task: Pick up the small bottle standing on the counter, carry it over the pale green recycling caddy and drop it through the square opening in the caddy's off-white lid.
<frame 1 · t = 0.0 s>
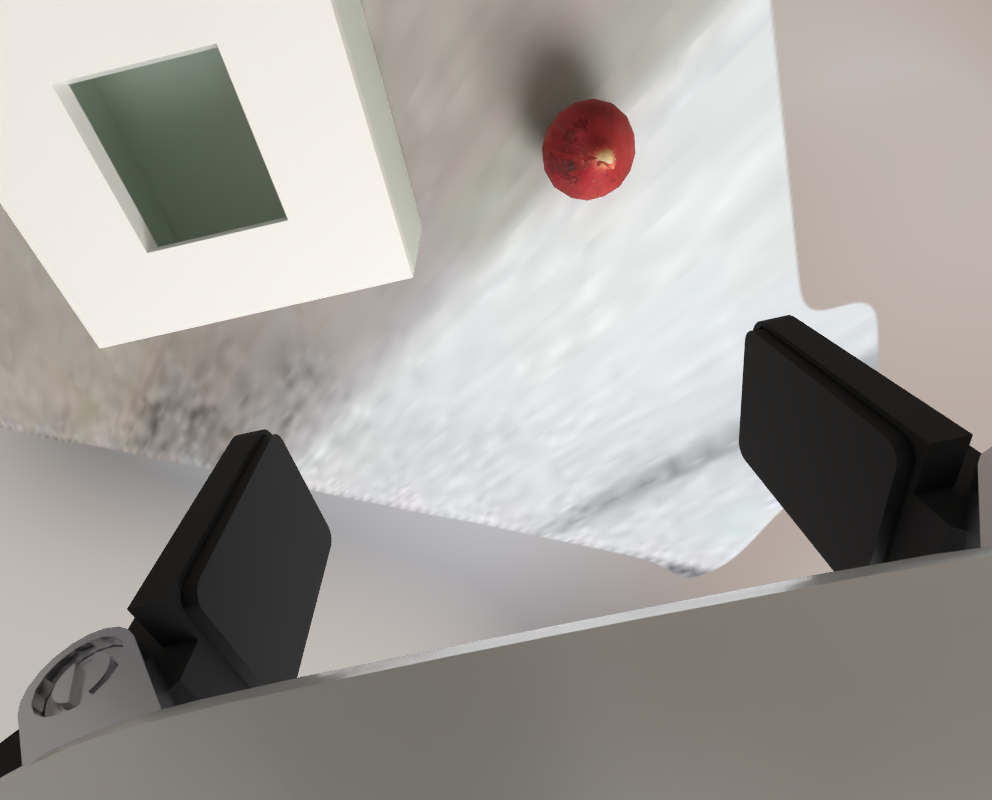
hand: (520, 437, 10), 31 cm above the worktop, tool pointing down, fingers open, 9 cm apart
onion: (575, 145, 36), on the worktop
caddy: (259, 137, 34), on the worktop
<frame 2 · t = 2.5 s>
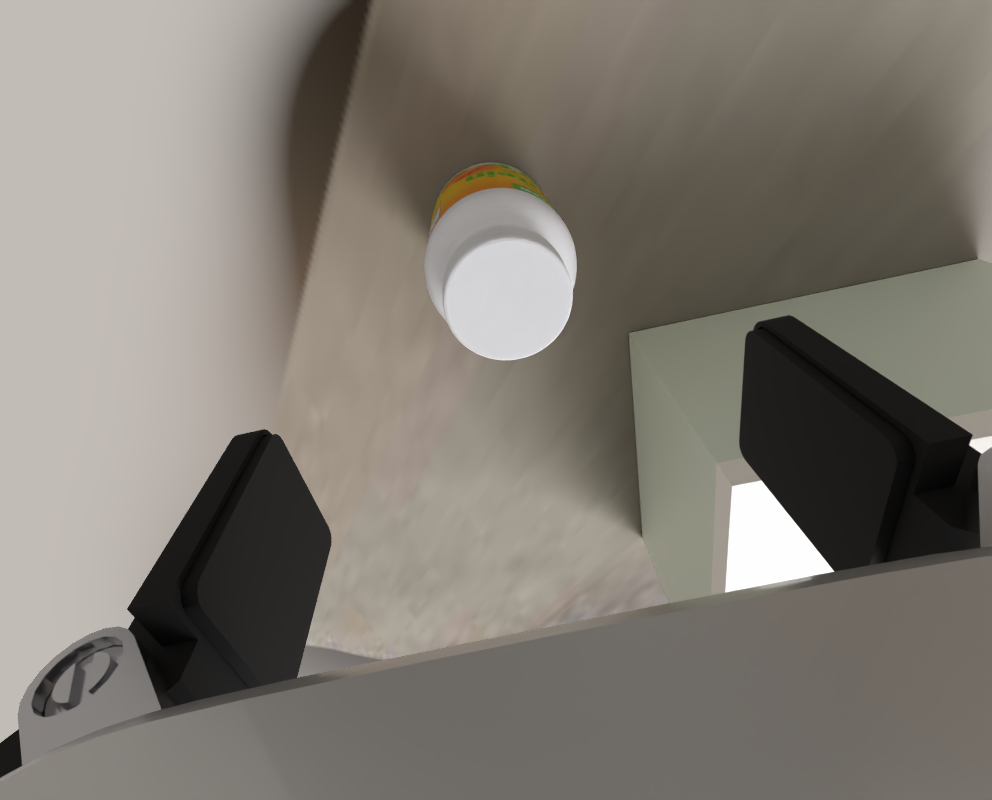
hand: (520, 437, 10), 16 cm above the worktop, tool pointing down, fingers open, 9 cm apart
caddy: (784, 420, 31), on the worktop
supplement bottle: (490, 223, 24), on the worktop
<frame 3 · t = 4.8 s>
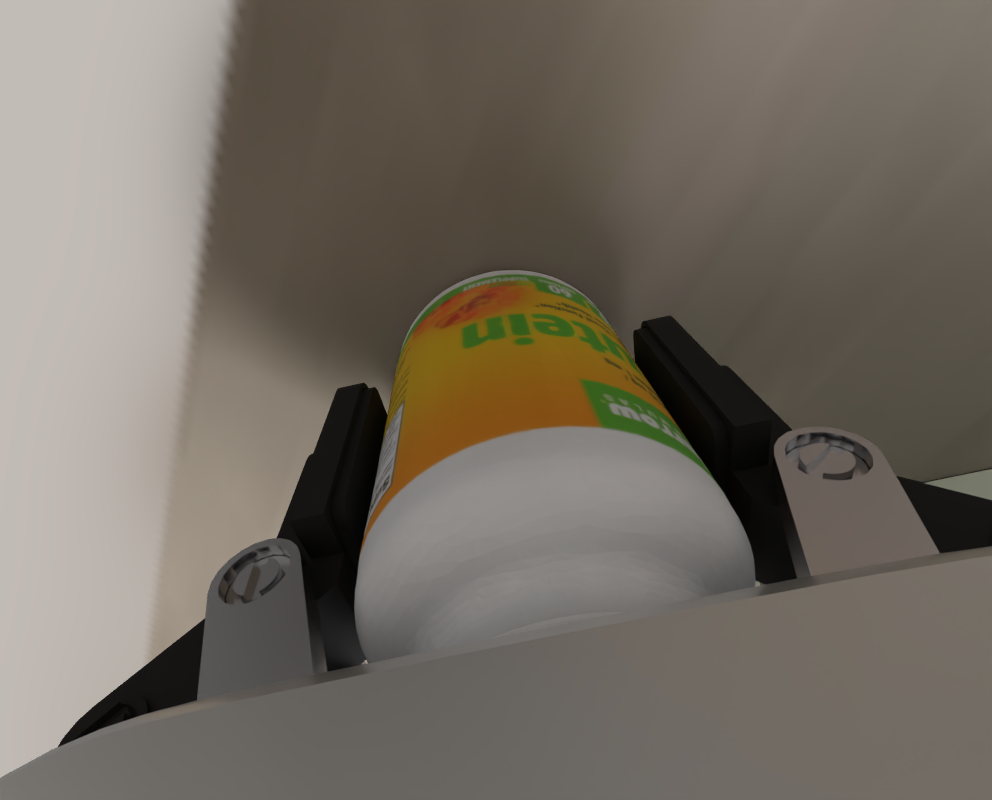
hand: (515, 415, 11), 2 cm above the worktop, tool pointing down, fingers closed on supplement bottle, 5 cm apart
caddy: (954, 619, 20), on the worktop
supplement bottle: (506, 367, 13), on the worktop, touching gripper
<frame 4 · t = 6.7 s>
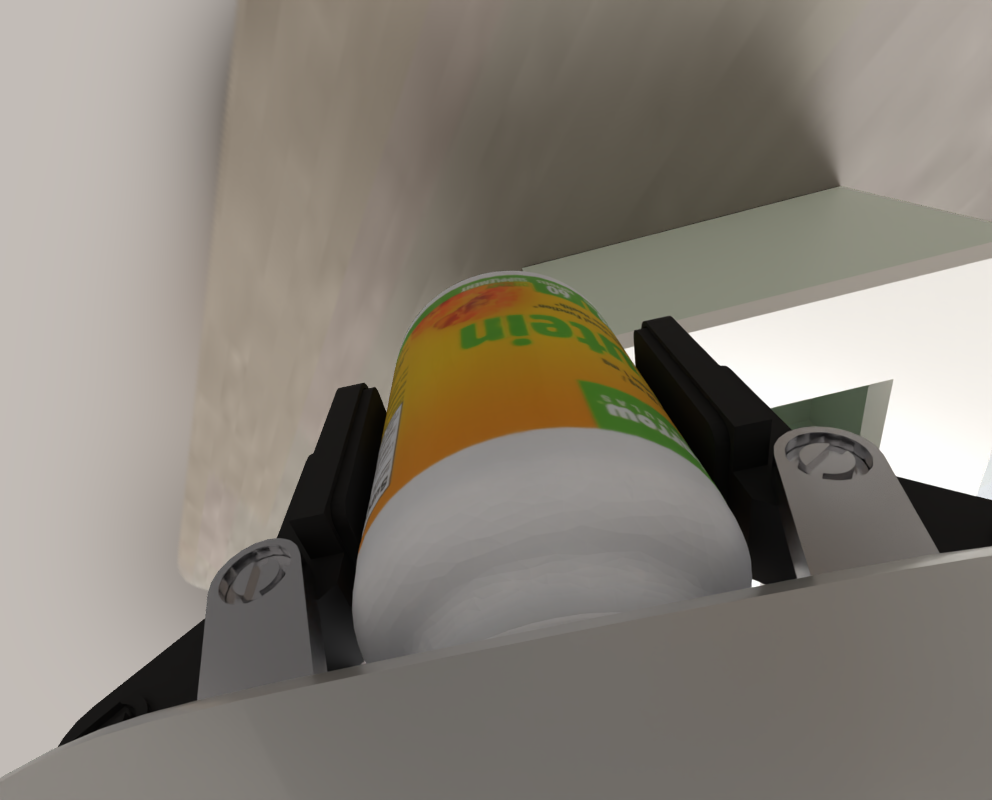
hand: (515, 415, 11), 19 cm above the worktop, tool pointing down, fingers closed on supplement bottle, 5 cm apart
caddy: (684, 352, 33), on the worktop
supplement bottle: (505, 368, 13), point 17 cm above the worktop, touching gripper
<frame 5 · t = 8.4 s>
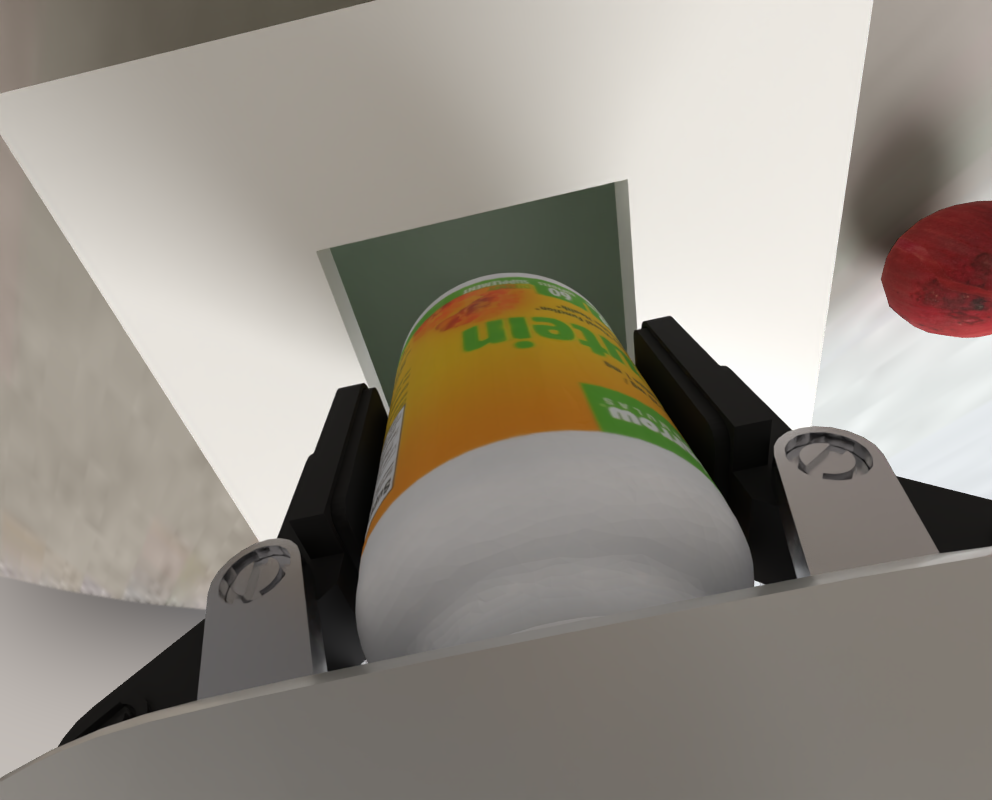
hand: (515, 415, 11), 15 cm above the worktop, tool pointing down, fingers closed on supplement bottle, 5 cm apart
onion: (899, 248, 26), on the worktop
caddy: (478, 244, 24), on the worktop
supplement bottle: (506, 369, 13), point 13 cm above the worktop, touching gripper
when the fingers open (15 cm above the worktop, at t = 9.0 s): supplement bottle drops 12 cm, resting on caddy.
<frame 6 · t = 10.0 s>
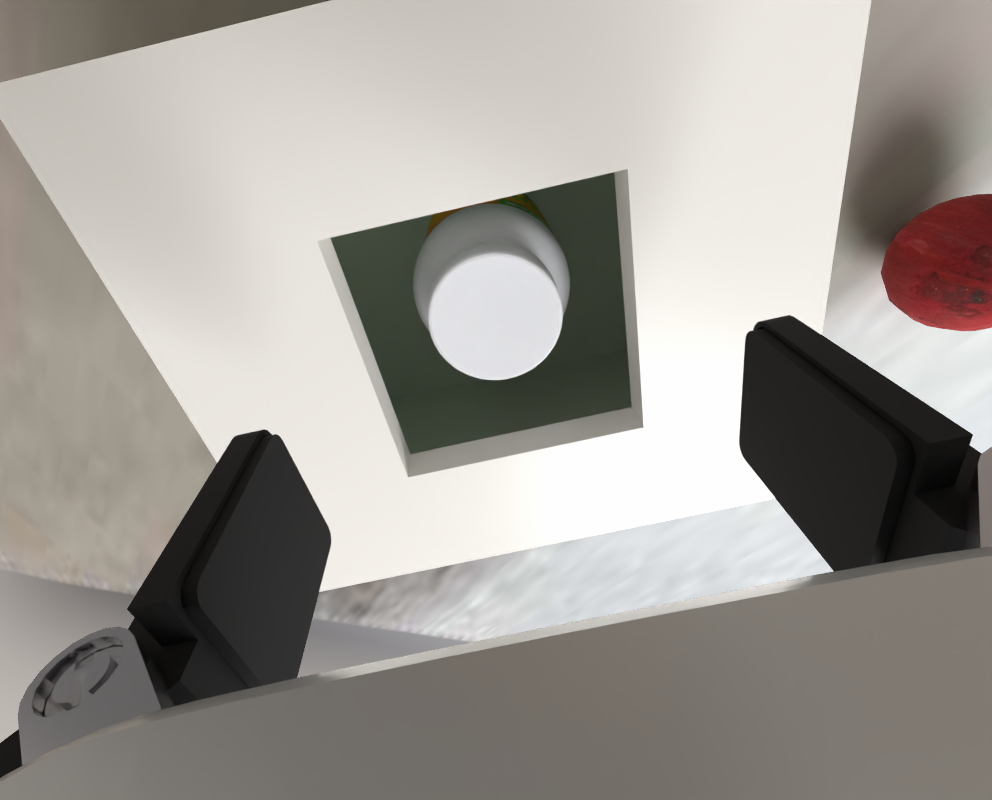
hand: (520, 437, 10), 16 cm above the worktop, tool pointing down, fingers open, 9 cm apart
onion: (899, 242, 26), on the worktop
caddy: (479, 237, 24), on the worktop
supplement bottle: (486, 241, 23), point 1 cm above the worktop, touching caddy
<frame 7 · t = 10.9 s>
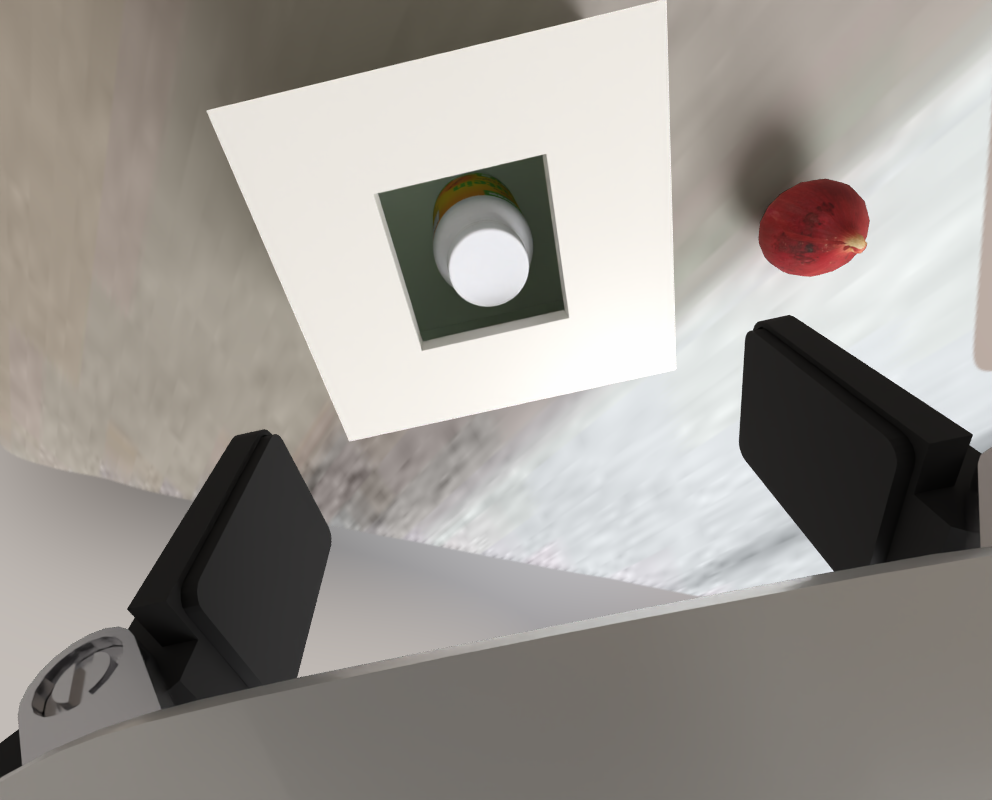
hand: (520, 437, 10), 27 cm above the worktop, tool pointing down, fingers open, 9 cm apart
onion: (777, 217, 36), on the worktop
caddy: (469, 212, 34), on the worktop
supplement bottle: (474, 214, 33), point 1 cm above the worktop, touching caddy
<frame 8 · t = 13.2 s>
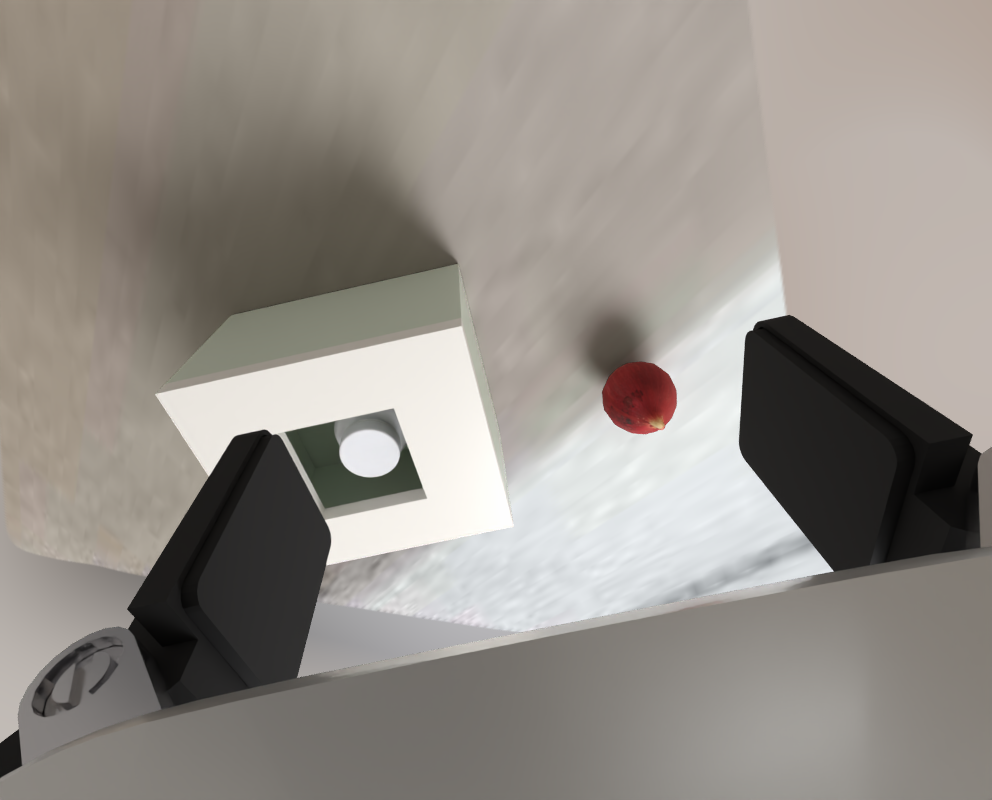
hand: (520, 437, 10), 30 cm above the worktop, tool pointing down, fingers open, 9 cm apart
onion: (625, 375, 45), on the worktop
caddy: (377, 378, 43), on the worktop
supplement bottle: (379, 383, 43), point 1 cm above the worktop, touching caddy
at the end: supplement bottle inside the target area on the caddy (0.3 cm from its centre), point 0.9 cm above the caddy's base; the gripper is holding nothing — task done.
